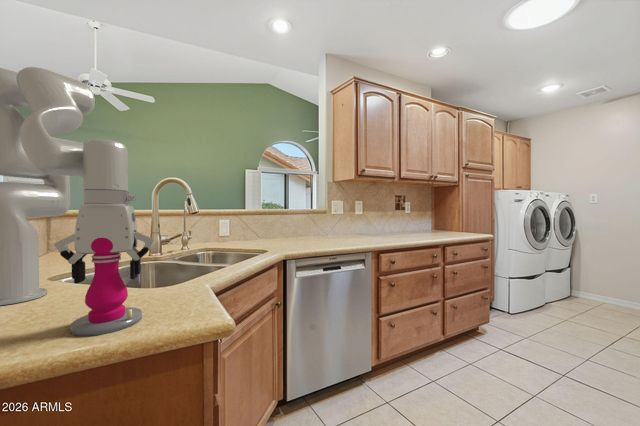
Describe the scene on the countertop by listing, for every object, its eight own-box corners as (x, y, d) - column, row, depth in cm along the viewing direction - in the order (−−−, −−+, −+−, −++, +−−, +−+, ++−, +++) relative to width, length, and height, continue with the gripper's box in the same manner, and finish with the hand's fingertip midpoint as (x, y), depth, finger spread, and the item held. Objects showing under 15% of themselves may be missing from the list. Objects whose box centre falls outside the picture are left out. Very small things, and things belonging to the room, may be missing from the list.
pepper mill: (77, 326, 54) (76, 225, 54) (94, 313, 61) (93, 223, 61) (120, 321, 56) (119, 224, 56) (132, 309, 63) (131, 222, 63)
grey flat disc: (53, 333, 54) (53, 317, 54) (110, 311, 66) (110, 297, 66) (105, 338, 52) (105, 321, 52) (154, 314, 64) (154, 300, 64)
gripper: (157, 200, 65) (157, 272, 65) (65, 199, 59) (66, 279, 59) (149, 199, 58) (150, 280, 58) (43, 198, 52) (45, 288, 52)
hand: (107, 279), depth 59 cm, fingers open, 9 cm apart
